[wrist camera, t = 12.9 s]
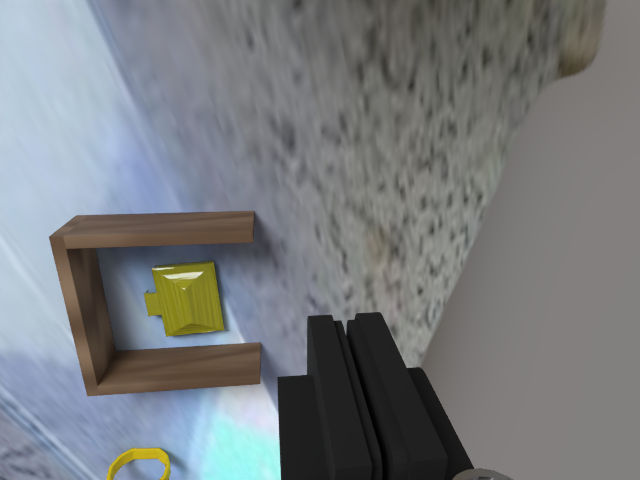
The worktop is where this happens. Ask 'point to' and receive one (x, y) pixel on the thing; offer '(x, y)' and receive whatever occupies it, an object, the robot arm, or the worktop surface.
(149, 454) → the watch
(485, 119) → the worktop surface
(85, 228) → the box
